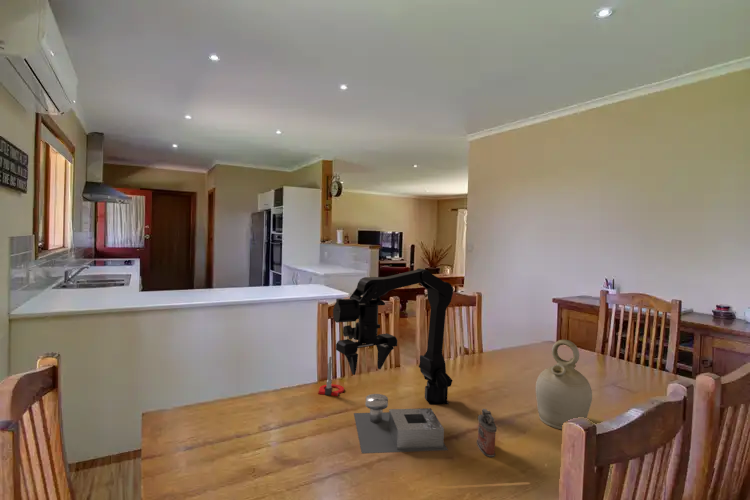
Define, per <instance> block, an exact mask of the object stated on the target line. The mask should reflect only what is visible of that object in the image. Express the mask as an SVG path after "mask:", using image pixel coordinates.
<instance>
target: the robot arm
mask: <svg viewBox="0 0 750 500" xmlns="http://www.w3.org/2000/svg"><path fill="white" fill-rule="evenodd" d="M417 284H420V285H421V286H422V287H423V288H424V289H426V292H427V300H428V303H429V305H430V311H429V312H430V314H429V315H430V316H429V324H428V325H429V326H428V337H427V338H428V339H427V345H426V346H427V348H426V349H427V350H426V351H425V353H424V354H423V355H421V354H420V355H419V365H418V368H419V369H420V373H421V374H422V375H423V379H424V380H426V385H425V387H424V399H425V401H426V402H427V404H429V405H431V406H432V405H433V406H434V405H436V406H437V405H442V406H443V405H449V403H450V402H448V395H449V394H448V393H449V391H448V390H449V389H448V388H449V387H452V384H453V379H452V378H451V377H450V375H448V373H447V365H446V360H445V358H444V355H443V346H444V345H443V344H444V335H445V327H446V326H445V324H446V315H447V314H446V312H447V308H448V307H449V306H450V304H451V302H452V299H453V295H454V287H453V285H452V284H451V283H450V282H447V281H444V280H443V279H440V278H439V277H438V276H436V275H434V274H433V273H432V272H431V271H429V270H428V269H425V268H416V269H414V270H410V271H409V270H408V271H406V272H402V273H401V272H400V273H397V274H394V275H393V274H392V275H388V276H368V277H367V276H364V277H362V278H360V279H359V281H358V282H357V286H356V288H355V290H353V292H352V294H351V295H350V297H349V298H339V297H338V298H336V301H335V304H334V306H333V308H332V316H333V320H334V322H335V323H351V322H355V327H352V325H350V324H349V325H343V327H342V334H343V336H344V337H345V338H346V337H348V339H339V340H338V341H337V342H336V344H335V351H338V352H339V353H340V354H342V355H344V356H345V358H346V360H347V362H348V365H349V368H350V372H351V374H352V375H353V376H355V375H356V372H357V366H358V358H359V354H358V353H357V352H358V350H359V349H361V348H366V347H367V348H368V347H373V346H374V347H375V346H376V349H377V359H376V360H377V361H376V363H377V369H378V370H381V369H382V367H383V366H384V364H385V362H386V360H387V358H388V357H389V355H390V353H391V352H392V351H393V350H394V349H395V347H397V346H398V338H397V337H396V336H395V335H393V334H389V333H380V334H378V330H379V329H381V324H380V323H379V306H385V305H386V302H384V301H383V300H382V299H381V297H382V296H385V295H386V294H387V293H388V292H391V291H393V290H397V289H400V288H405V287H409V286H413V285H417ZM356 321H357V322H356ZM354 340H355V341H354Z"/></svg>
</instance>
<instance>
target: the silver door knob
mask: <svg viewBox="0 0 750 500" xmlns="http://www.w3.org/2000/svg"><path fill="white" fill-rule="evenodd" d="M388 404H389V398H388V396H386V395H384V394H381V393H371V394H368V395H366V396H365V407H366V408H367V409H369V413H370V422H372V423H381V422H382V413H383V412H384V411H383V410H385V409H387V408H388V407H389V405H388Z"/></svg>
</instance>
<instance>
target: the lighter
mask: <svg viewBox="0 0 750 500" xmlns="http://www.w3.org/2000/svg"><path fill="white" fill-rule="evenodd" d="M481 413H482V414H479V415H478V416H477V420H478V425H477V426H478V427H477V429H478V430H477V439H476V444H477V445H476V446H477V448H478V449H479V450H480V452H481V453H482V454H483V455H484V456H485V457H487V458H495V457H496V453H495V451H496V450H495V449H496V448H495V447H496V434H497V433H496V432H497V429H498V428H497V425H496V424H495V418H494V416H493V415H492V412H491V410H488V409H487V408H482V409H481Z"/></svg>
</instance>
